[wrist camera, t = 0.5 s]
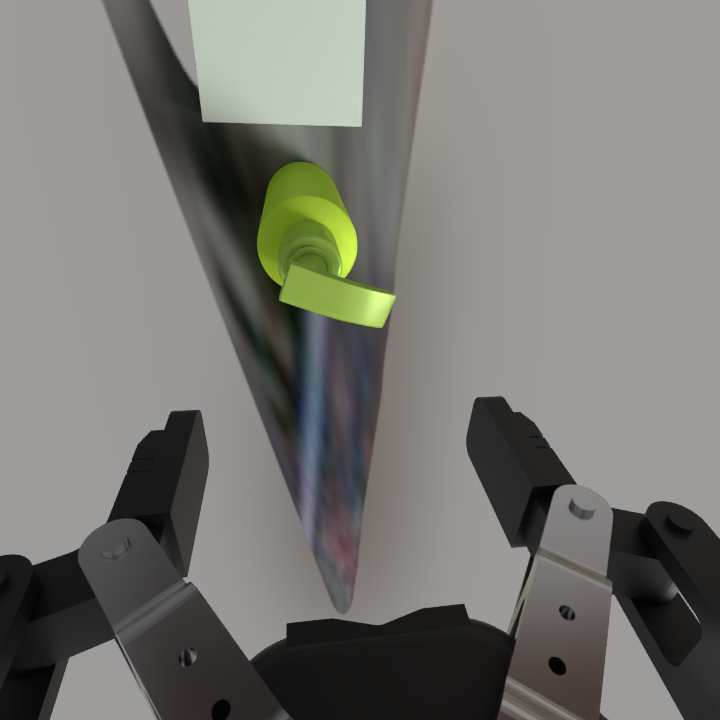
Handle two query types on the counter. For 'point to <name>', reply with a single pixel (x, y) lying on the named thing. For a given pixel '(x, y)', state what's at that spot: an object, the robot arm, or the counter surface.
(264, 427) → the counter surface
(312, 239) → the soap dispenser
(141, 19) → the counter surface
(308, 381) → the counter surface
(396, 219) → the counter surface
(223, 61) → the plate
